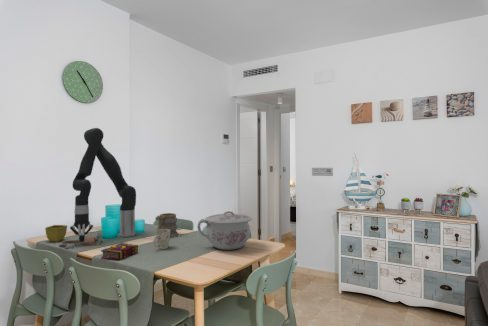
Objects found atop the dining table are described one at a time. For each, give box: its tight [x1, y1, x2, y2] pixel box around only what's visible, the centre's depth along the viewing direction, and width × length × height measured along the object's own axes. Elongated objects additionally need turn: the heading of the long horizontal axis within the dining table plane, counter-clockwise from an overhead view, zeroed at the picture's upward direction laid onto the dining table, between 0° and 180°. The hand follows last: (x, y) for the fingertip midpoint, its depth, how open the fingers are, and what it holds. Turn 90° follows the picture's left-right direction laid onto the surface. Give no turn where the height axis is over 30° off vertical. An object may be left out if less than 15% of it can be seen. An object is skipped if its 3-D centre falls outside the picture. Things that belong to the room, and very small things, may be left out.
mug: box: [153, 229, 171, 250], centre depth 180 cm, size 8×13×10 cm, turn 161°
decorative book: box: [100, 242, 139, 261], centre depth 167 cm, size 11×16×5 cm
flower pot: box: [44, 224, 68, 243], centre depth 198 cm, size 9×9×9 cm
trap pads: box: [64, 240, 85, 250], centre depth 189 cm, size 5×20×1 cm, turn 0°
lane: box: [58, 232, 103, 248], centre depth 190 cm, size 22×10×5 cm, turn 110°
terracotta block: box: [84, 235, 96, 243], centre depth 192 cm, size 5×5×4 cm
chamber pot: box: [196, 211, 253, 251], centre depth 184 cm, size 28×28×21 cm
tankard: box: [154, 212, 179, 238], centre depth 210 cm, size 20×13×15 cm, turn 159°
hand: (81, 241), depth 191 cm, fingers closed
